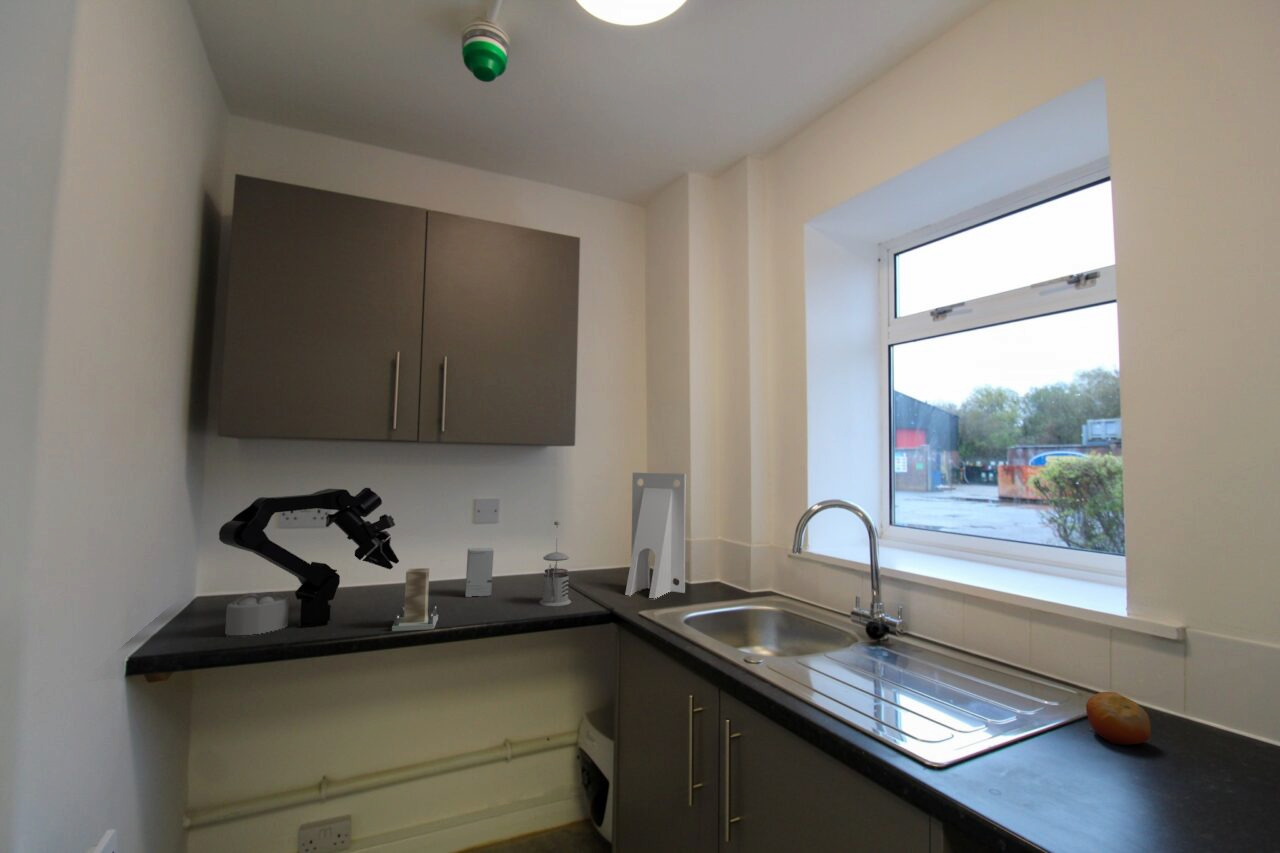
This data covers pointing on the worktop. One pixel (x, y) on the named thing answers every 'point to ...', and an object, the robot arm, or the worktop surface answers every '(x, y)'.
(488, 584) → the skincare box
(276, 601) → the lumpy-topped squat cylinder
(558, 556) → the french press
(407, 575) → the birch post
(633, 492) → the grey wedge bracket
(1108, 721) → the fruit
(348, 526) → the robot arm
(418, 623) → the peg board
